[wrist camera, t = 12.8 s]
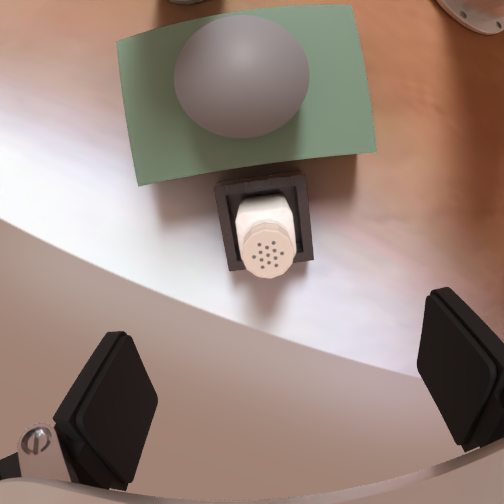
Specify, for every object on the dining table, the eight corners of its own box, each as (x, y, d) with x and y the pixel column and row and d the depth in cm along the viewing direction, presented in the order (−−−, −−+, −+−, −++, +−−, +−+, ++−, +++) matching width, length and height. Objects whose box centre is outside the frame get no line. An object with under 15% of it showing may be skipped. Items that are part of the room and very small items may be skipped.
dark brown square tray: (300, 170, 27) (305, 174, 25) (308, 248, 30) (313, 259, 27) (218, 182, 28) (213, 187, 25) (231, 258, 30) (229, 271, 27)
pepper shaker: (284, 191, 28) (298, 218, 19) (289, 235, 29) (303, 280, 20) (238, 197, 28) (229, 227, 19) (245, 241, 29) (239, 288, 20)
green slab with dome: (336, 24, 22) (366, -16, 14) (357, 149, 27) (398, 156, 18) (138, 54, 24) (93, 28, 15) (157, 177, 28) (117, 196, 19)
